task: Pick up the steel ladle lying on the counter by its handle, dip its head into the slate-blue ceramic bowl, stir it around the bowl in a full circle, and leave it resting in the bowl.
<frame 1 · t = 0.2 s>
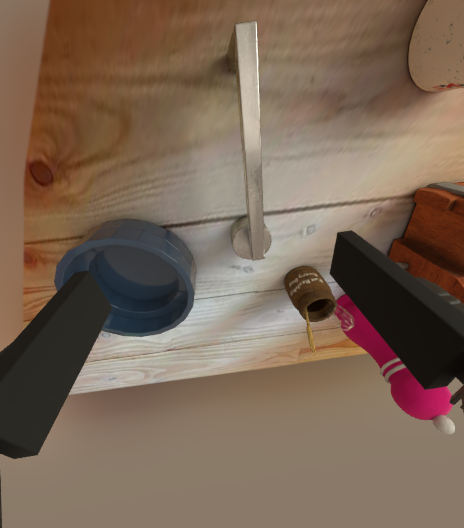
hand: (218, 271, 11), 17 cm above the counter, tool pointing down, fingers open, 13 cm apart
utensil holder: (299, 278, 35), on the counter
ladle: (248, 232, 29), on the counter
bowl: (141, 267, 30), on the counter
pepper mill: (348, 303, 40), on the counter
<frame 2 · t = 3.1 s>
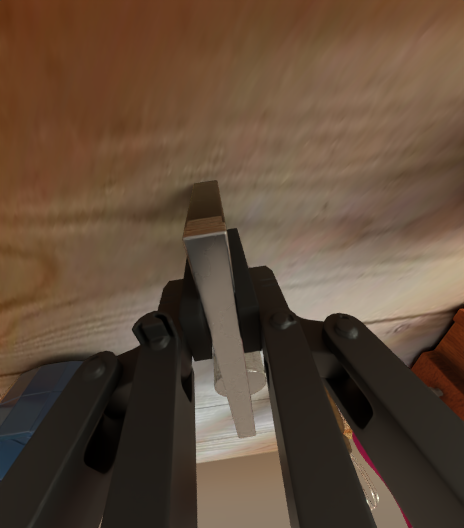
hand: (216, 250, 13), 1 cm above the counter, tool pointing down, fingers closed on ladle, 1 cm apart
utensil holder: (302, 386, 28), on the counter
ladle: (236, 356, 22), on the counter, touching gripper
bowl: (101, 393, 24), on the counter
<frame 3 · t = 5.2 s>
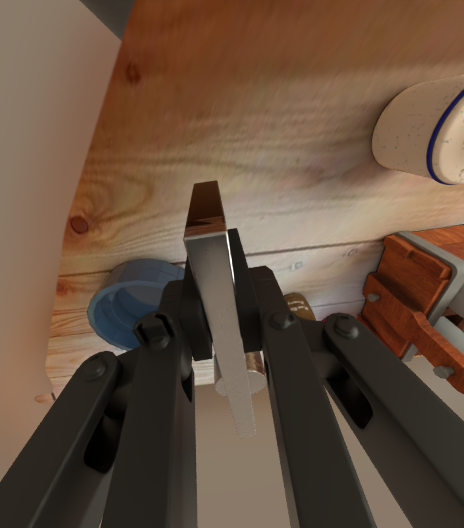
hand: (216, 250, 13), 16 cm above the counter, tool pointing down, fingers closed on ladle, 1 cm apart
milk bottle holder: (444, 269, 40), on the counter
utensil holder: (289, 303, 40), on the counter
ladle: (237, 356, 22), point 15 cm above the counter, touching gripper
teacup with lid: (416, 121, 25), on the counter
bowl: (155, 294, 36), on the counter
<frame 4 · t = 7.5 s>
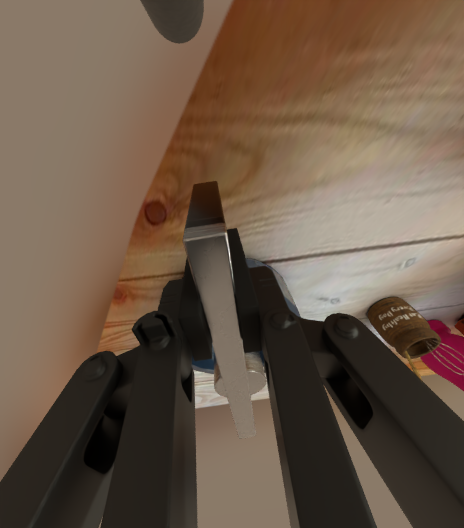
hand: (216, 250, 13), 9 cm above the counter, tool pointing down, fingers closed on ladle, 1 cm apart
utensil holder: (382, 308, 33), on the counter
ladle: (236, 356, 22), point 8 cm above the counter, touching gripper
bowl: (230, 301, 29), on the counter
pepper mill: (422, 330, 38), on the counter
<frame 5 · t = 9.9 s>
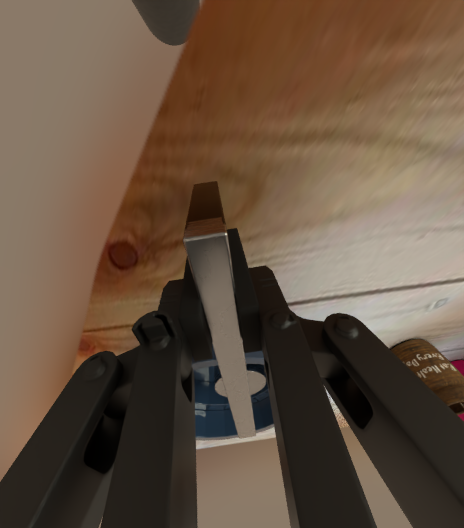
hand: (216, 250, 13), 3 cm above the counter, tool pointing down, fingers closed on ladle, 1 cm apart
utensil holder: (403, 350, 28), on the counter
ladle: (236, 356, 22), point 2 cm above the counter, touching gripper
bowl: (223, 349, 24), on the counter
pepper mill: (446, 369, 33), on the counter
when the fingers open (2 cm above the counter, at t = 12.0 s): ladle stays where it is, resting on bowl.
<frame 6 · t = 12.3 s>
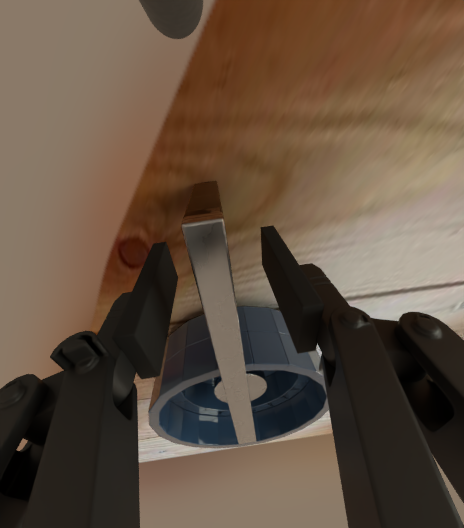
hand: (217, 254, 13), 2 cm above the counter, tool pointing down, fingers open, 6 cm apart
ladle: (237, 360, 22), point 1 cm above the counter, touching bowl
bowl: (236, 352, 23), on the counter
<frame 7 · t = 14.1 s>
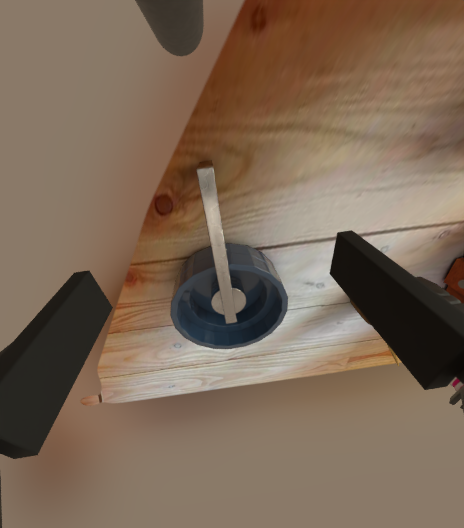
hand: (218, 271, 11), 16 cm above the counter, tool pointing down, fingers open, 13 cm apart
ladle: (227, 289, 32), point 1 cm above the counter, touching bowl
bowl: (227, 285, 33), on the counter
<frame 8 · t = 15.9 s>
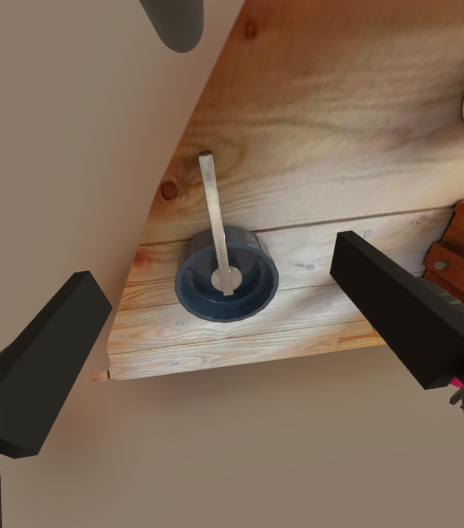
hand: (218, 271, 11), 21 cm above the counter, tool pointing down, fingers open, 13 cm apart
ladle: (225, 269, 36), point 1 cm above the counter, touching bowl
bowl: (225, 265, 36), on the counter
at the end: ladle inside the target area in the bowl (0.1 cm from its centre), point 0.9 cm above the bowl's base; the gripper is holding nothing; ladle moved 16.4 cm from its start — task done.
